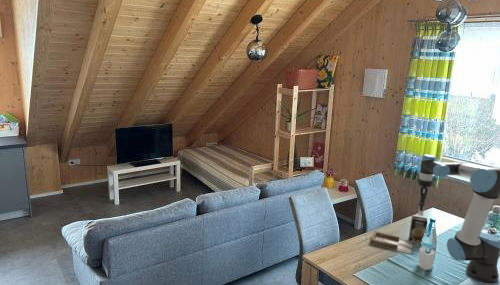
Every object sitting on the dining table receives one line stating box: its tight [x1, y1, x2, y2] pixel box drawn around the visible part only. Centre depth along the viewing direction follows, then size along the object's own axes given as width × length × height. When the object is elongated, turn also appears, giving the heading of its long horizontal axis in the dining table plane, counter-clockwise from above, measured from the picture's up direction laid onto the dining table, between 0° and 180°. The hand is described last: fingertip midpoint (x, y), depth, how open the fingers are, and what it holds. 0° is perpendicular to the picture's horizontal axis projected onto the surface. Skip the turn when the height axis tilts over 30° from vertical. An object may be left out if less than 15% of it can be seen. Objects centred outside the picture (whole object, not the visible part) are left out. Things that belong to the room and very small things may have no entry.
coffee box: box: [408, 215, 428, 245], centre depth 236 cm, size 9×6×16 cm
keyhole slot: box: [370, 230, 414, 255], centre depth 233 cm, size 16×24×3 cm
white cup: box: [418, 246, 436, 271], centre depth 207 cm, size 8×8×10 cm
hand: (421, 211), depth 233 cm, fingers open, 13 cm apart
